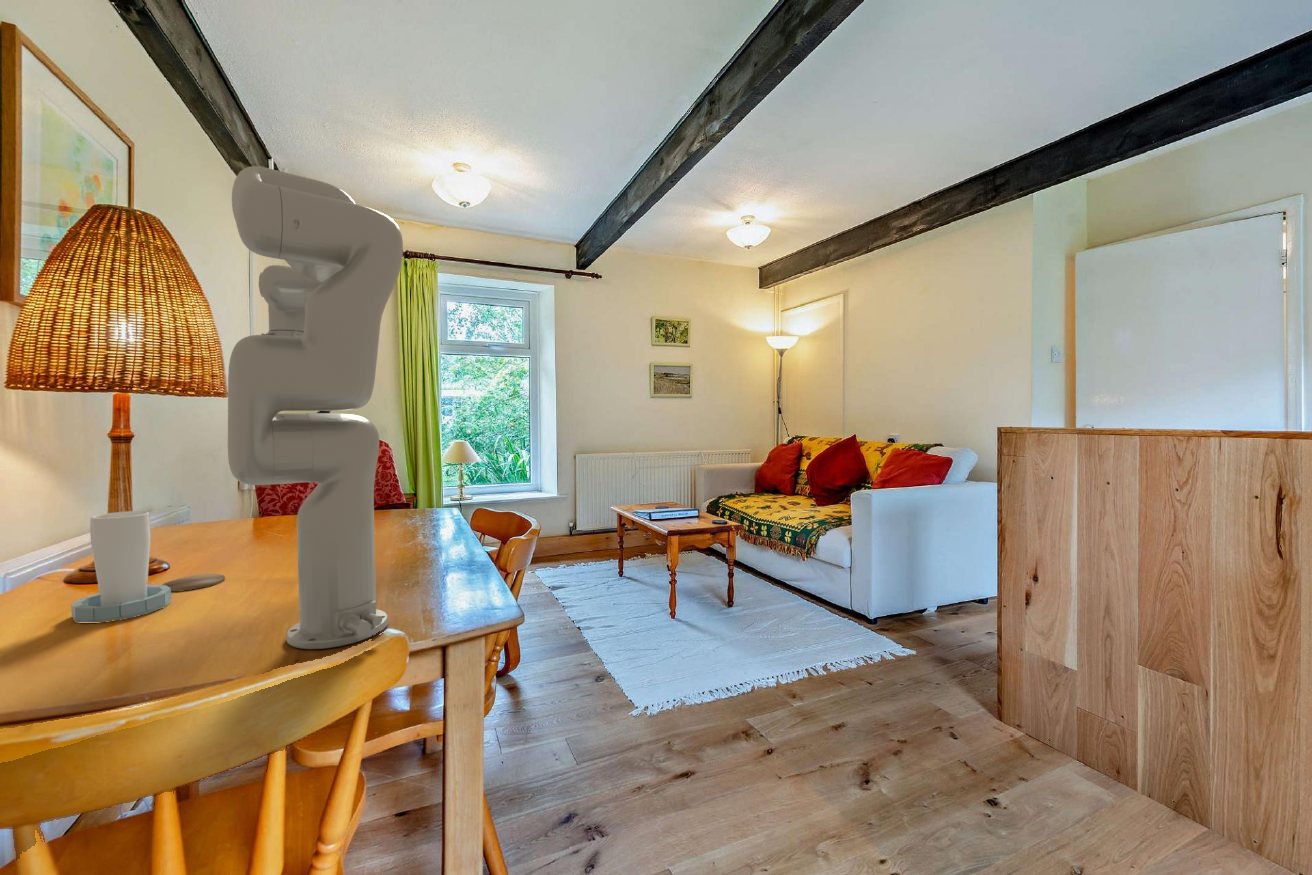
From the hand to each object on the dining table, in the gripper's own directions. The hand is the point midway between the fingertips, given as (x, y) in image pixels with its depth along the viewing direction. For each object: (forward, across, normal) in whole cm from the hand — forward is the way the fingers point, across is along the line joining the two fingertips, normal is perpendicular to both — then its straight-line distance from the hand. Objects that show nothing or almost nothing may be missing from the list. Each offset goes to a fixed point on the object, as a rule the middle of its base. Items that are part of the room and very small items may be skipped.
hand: (296, 432), depth 102 cm
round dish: (+28, -24, +4) cm, 37 cm away
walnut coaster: (+28, -13, +12) cm, 33 cm away
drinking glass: (+28, -24, +4) cm, 37 cm away
